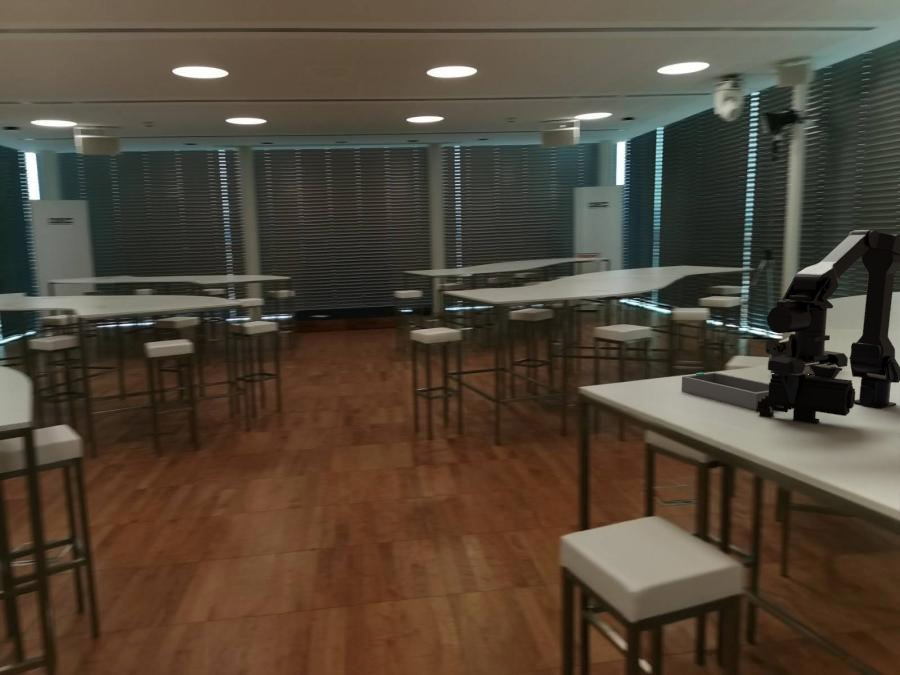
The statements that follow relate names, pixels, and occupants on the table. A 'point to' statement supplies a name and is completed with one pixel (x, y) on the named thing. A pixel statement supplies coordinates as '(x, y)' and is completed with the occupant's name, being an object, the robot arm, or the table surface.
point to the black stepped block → (809, 398)
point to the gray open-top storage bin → (726, 388)
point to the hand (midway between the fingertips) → (805, 400)
